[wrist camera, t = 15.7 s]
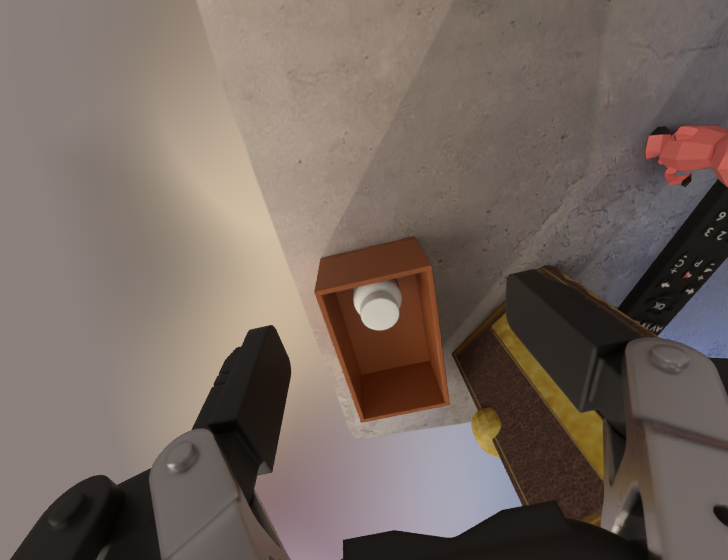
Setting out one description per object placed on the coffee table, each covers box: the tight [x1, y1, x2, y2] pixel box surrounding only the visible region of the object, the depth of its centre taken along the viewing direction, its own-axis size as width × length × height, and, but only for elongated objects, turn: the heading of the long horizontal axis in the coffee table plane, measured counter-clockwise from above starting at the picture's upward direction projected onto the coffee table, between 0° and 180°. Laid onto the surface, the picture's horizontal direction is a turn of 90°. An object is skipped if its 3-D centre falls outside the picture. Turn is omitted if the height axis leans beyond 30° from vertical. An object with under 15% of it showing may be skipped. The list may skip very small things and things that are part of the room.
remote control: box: [618, 180, 728, 336], centre depth 41 cm, size 8×32×2 cm, turn 165°
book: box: [452, 266, 660, 527], centre depth 33 cm, size 22×8×25 cm, turn 146°
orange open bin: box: [314, 237, 450, 423], centre depth 38 cm, size 21×12×9 cm, turn 13°
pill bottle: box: [353, 278, 402, 330], centre depth 34 cm, size 5×5×10 cm
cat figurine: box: [645, 125, 728, 187], centre depth 28 cm, size 7×7×12 cm
